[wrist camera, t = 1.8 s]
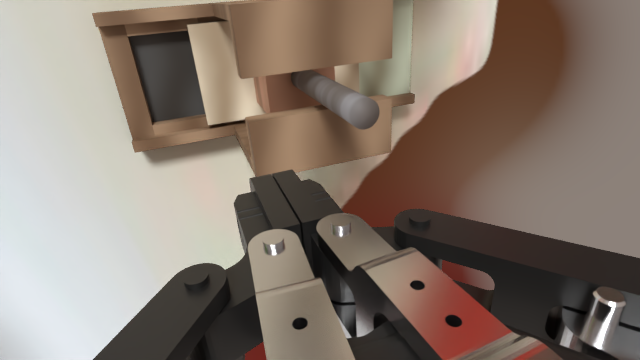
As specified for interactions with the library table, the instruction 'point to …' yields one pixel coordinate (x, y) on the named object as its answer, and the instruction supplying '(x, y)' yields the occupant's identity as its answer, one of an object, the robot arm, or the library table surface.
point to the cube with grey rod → (271, 84)
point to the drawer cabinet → (262, 74)
